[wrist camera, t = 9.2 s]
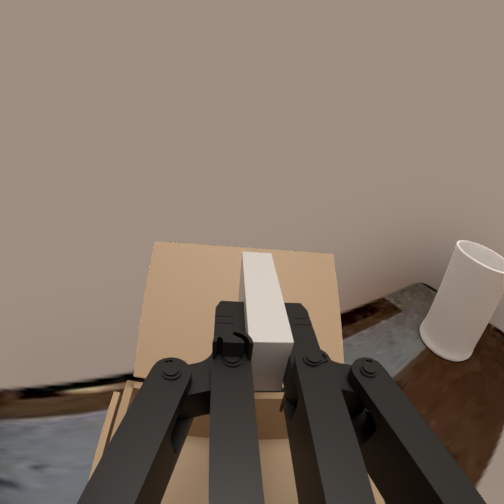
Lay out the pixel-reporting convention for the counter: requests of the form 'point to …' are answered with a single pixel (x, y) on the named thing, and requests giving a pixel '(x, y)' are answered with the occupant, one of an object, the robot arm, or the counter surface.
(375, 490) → the carton
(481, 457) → the counter surface
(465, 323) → the mug
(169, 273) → the flap
